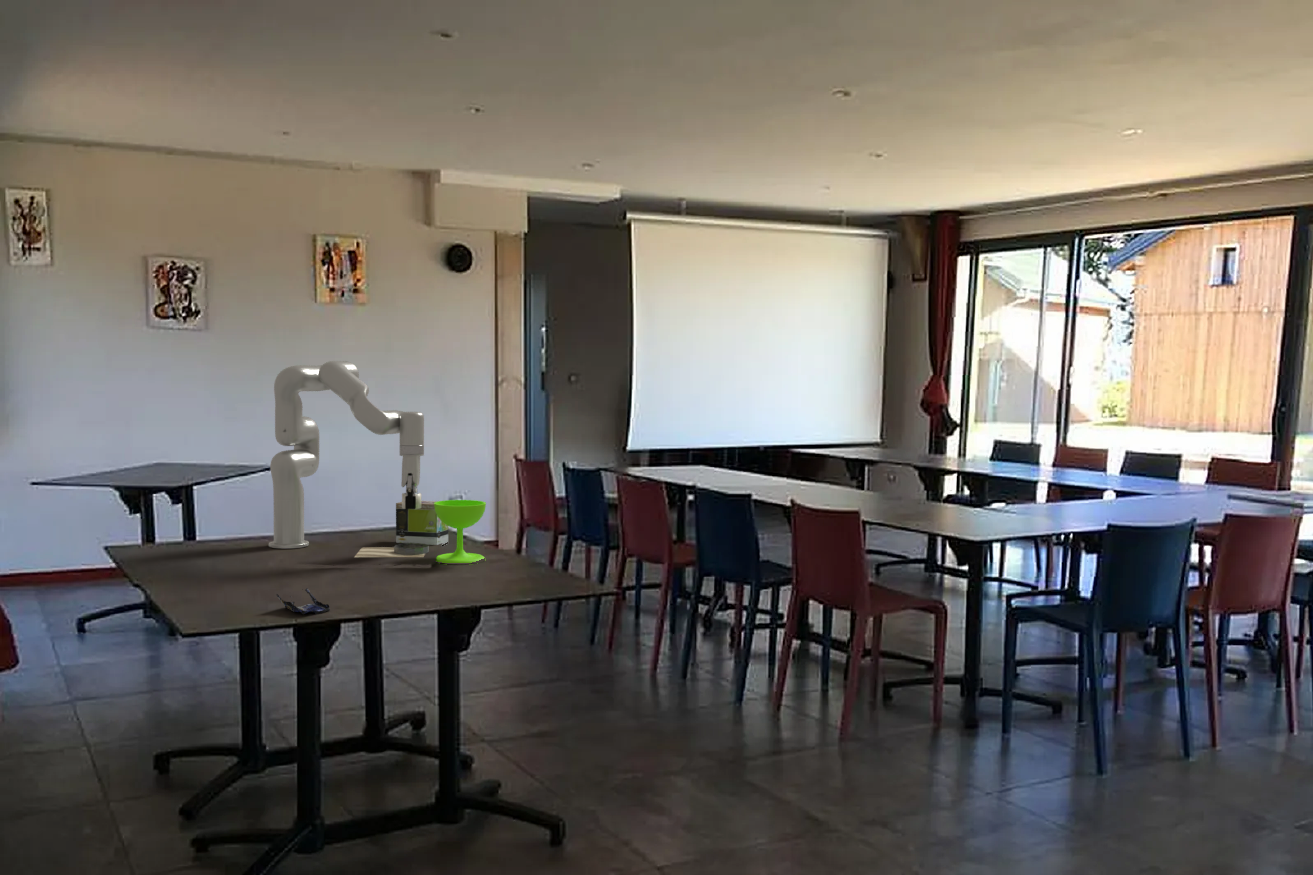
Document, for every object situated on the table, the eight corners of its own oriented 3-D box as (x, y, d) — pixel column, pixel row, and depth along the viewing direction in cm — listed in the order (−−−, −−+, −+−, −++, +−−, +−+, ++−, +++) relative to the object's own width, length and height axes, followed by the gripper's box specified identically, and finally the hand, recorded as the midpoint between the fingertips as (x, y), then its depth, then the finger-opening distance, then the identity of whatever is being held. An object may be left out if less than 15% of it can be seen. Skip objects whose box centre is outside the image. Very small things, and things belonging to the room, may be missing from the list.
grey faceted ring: (396, 549, 350) (396, 543, 350) (429, 549, 352) (429, 543, 351) (392, 554, 340) (392, 548, 340) (427, 554, 341) (427, 548, 341)
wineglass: (473, 554, 351) (474, 498, 350) (493, 562, 337) (494, 504, 336) (425, 558, 342) (426, 501, 341) (444, 566, 329) (445, 507, 328)
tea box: (449, 544, 370) (449, 500, 369) (436, 548, 360) (436, 504, 359) (408, 541, 373) (408, 498, 372) (394, 546, 364) (395, 502, 363)
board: (362, 551, 353) (362, 547, 353) (428, 551, 355) (428, 547, 355) (353, 561, 335) (353, 557, 335) (423, 560, 337) (423, 557, 337)
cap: (403, 506, 347) (403, 492, 347) (422, 506, 348) (422, 492, 348) (400, 509, 341) (401, 494, 341) (420, 509, 342) (420, 494, 342)
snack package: (321, 605, 275) (273, 609, 269) (323, 581, 274) (274, 584, 268) (332, 623, 265) (283, 627, 259) (334, 598, 264) (284, 602, 258)
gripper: (402, 448, 352) (402, 504, 353) (396, 452, 335) (396, 511, 336) (426, 448, 353) (426, 504, 354) (421, 453, 336) (421, 511, 337)
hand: (411, 507), depth 345 cm, fingers closed on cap, 6 cm apart
